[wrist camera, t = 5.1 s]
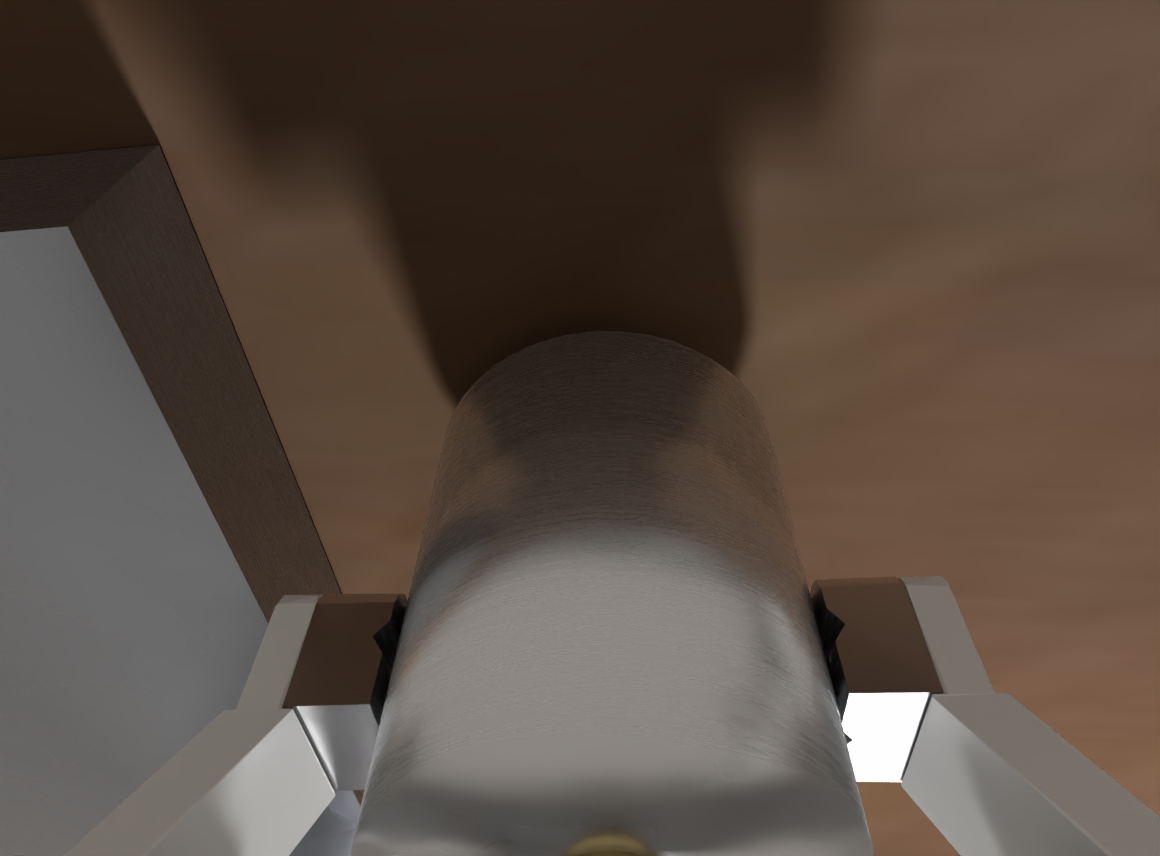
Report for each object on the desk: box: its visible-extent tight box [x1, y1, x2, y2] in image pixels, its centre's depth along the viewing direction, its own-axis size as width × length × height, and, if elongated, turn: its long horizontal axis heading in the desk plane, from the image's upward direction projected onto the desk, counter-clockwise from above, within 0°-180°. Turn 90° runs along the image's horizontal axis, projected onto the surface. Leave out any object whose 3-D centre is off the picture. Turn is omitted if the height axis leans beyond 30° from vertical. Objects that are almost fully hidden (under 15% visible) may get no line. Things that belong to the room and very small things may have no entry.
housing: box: [351, 331, 874, 856], centre depth 10 cm, size 5×5×8 cm
